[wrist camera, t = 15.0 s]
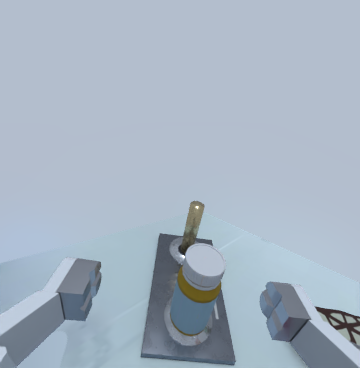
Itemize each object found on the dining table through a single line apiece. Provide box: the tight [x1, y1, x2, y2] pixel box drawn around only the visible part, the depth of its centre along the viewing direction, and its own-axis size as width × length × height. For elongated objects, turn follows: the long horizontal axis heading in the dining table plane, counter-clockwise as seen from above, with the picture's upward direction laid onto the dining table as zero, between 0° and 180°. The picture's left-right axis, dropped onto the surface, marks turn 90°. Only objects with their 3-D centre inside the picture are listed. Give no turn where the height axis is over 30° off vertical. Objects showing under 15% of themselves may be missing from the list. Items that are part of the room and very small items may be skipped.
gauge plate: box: [141, 201, 236, 365], centre depth 39 cm, size 15×27×15 cm, turn 179°
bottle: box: [170, 243, 226, 336], centre depth 32 cm, size 7×7×15 cm
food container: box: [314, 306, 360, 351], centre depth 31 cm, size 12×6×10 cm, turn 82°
